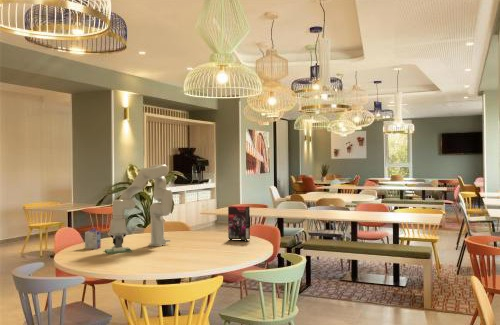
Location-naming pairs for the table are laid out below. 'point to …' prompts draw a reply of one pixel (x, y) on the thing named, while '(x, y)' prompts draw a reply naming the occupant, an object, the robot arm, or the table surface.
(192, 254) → the table surface
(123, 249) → the circuit board
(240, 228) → the graphics card box
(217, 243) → the table surface
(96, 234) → the ink cartridge box
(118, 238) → the plug
